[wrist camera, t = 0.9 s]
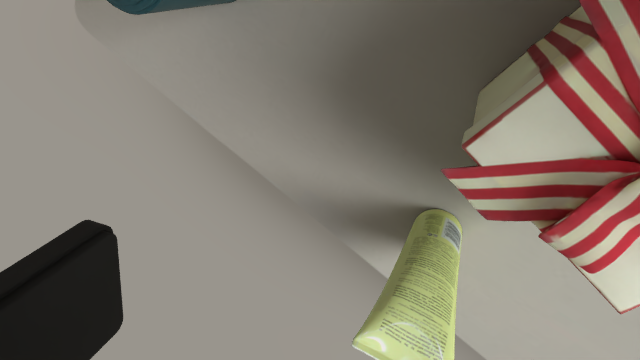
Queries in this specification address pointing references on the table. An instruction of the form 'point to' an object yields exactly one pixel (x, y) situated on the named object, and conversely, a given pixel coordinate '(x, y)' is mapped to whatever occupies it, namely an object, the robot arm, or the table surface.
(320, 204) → the table surface
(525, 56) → the gift box
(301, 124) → the table surface
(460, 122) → the table surface
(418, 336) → the tube
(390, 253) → the table surface
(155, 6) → the bottle
